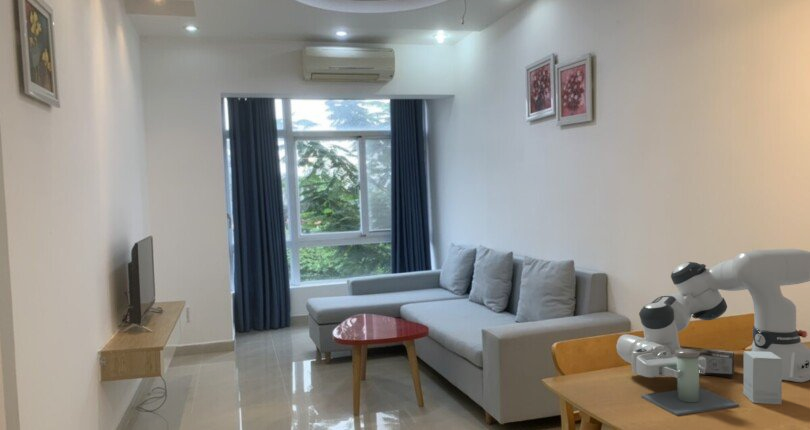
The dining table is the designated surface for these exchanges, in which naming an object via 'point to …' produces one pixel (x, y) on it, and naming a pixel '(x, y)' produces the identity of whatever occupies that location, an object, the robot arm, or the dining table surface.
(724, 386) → the dining table surface
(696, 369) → the ceramic jar
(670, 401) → the cutting board
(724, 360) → the coffee box
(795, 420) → the dining table surface
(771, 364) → the supplement box
